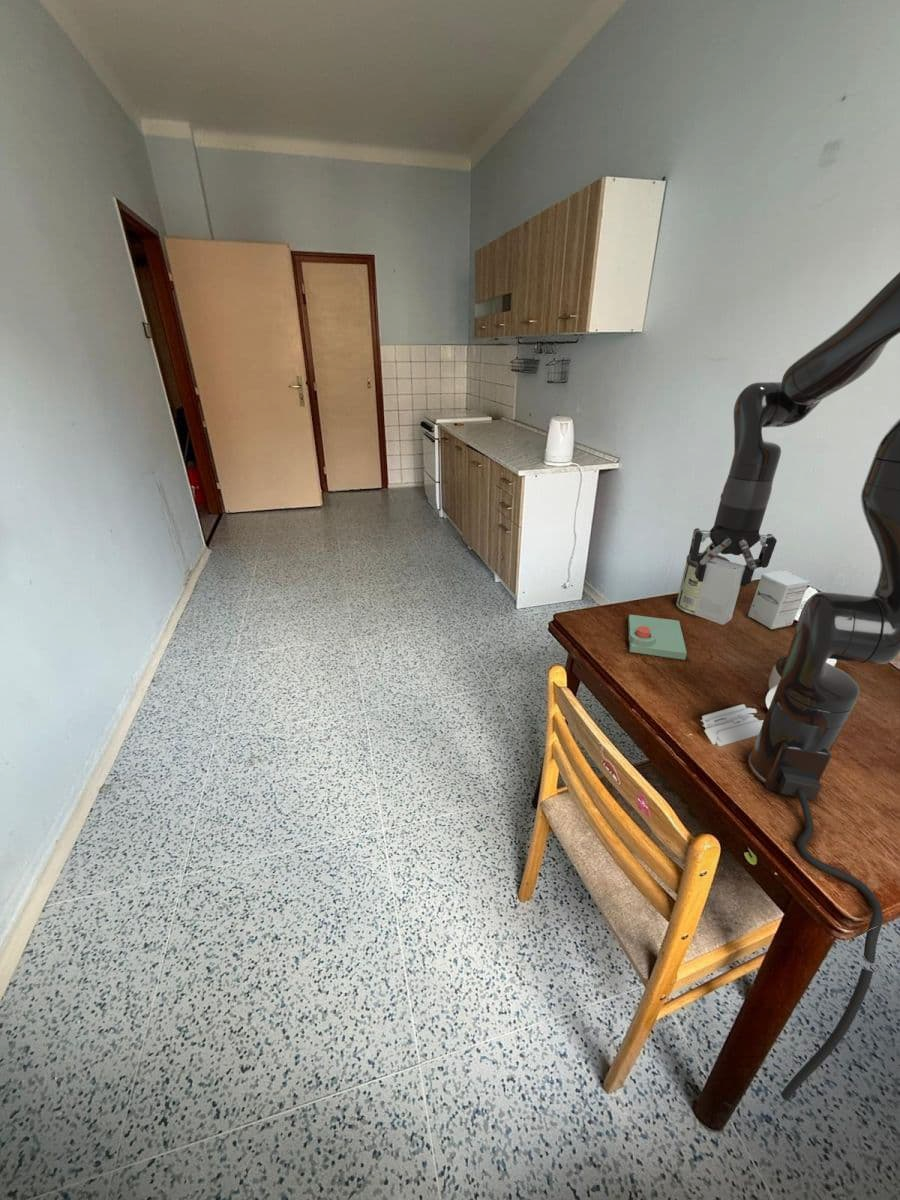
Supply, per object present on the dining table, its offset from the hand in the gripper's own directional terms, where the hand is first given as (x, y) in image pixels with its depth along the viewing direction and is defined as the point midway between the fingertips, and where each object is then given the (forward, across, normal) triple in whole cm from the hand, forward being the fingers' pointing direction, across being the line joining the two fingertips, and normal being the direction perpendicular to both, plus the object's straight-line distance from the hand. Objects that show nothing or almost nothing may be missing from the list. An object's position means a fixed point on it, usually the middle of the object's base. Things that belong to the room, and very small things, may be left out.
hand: (720, 582), depth 94 cm
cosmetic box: (+8, 0, 0) cm, 8 cm away
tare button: (+18, -11, +6) cm, 23 cm away
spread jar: (+22, +16, -8) cm, 28 cm away
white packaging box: (+22, +21, +28) cm, 41 cm away
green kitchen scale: (+21, -8, +11) cm, 25 cm away
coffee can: (+22, +4, +31) cm, 38 cm away
